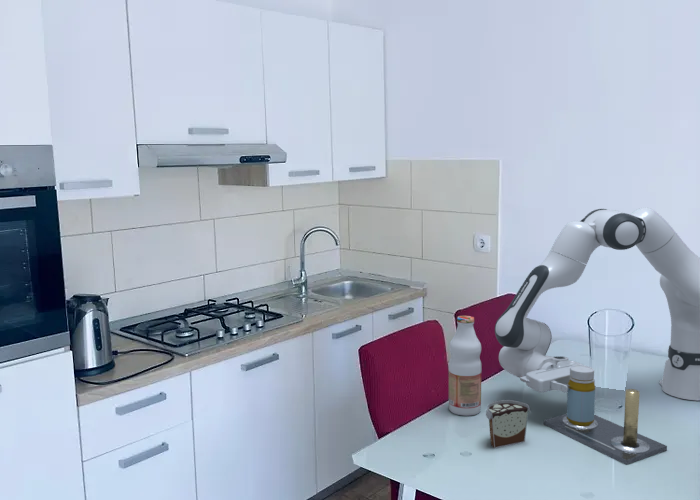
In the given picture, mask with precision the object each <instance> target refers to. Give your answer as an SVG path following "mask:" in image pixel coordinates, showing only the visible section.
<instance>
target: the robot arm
mask: <svg viewBox="0 0 700 500" xmlns="http://www.w3.org/2000/svg"><path fill="white" fill-rule="evenodd" d="M600 246H601V247H606V248H610V249H612V250H618V251H625V250H629V249H632V248H633V247H635V246H636V247H637V249H638V250H639V252H640V253H641V254H642V255H643V256H644V257H645V258H646V260H647V261H648V263H650V265H651V266H652V267H653V269H654V270H655V271H656V272H658V273H659V274H660V277H659V285H660V288H661V289H662V291H663V293H664V296H665V297H666V303H667V306H668V309H669V310H668V311H669V316H670V324H671V327H670V343H669V346H668V350H667V353H668V354H667V357H668V358H667V360H665V362H664V363H665V364H664V368H663V376H662V379H660V380H659V385H660V386H661V391H663V392H664V393H666V394H667V395H669V396H672V397H675V398H678V399H682V400H683V399H684V400H689V401H698V402H699V401H700V257H699V256H698V255H697V254H695V253H694V252H693V251H692V250H691V248H689V246H687V244H686V243H685V242H684V240H683V239H682V238H681V236H679V234H678V233H677V232H676V231H675V229H674V228H673V227H672V225H670V223H669V222H668V221H667V220H666V219H665V218H664V217H663V216H662V215H660V213H658V212H657V211H656V210H655V209H652V208H649V207H641V208H638V209H636V210H634V211H633V212H632V213H630V214H629V213H625V212H623V211H619V210H616V209H615V210H614V209H607V208H598V209H594V210H592V211H590V212H589V213H587V214H586V215H585V216H584V217H583V218H582V219H581V220H573V221H569V222H567V223H566V224H565V225H564V227H563V228H562V229H561V231H560V233H559V234H558V236H557V237H556V239H555V241H554V242H553V244H552V247H551V248H550V251H549V253H548V255H546V257H545V258H544V260H543V261H542V262H541V263H539V265H537V266H535V267H533V268H532V270H531V271H530V272H529V274H528V275H527V277H525V280H524V281H523V282H522V285H521V286H520V288H519V289H518V291H517V292H516V294H515V296H514V297H513V299H512V301H511V302H510V303H509V305H508V306H507V308H506V310H504V311H503V313H502V314H501V315H500V316H499V317H498V318H497V320H496V322H495V325H494V334H495V337H496V340H497V342H498V343H499V344H500V345H501V346H502V348H500V351H499V353H498V361H499V362H498V363H499V365H500V366H501V368H503V369H504V371H506V372H507V373H510V374H511V375H513V376H515V377H516V378H518V379H519V380H520V381H521V382H523V383H525V385H526V386H527V387H528V388H529V389H531V390H533V391H535V392H538V393H547V392H550V391H558V392H559V391H560V392H564V393H568V392H569V391H570V385H568V382H569V380H570V367H571V366H575V365H583V366H586V365H585V364H583V363H580V362H577V361H576V360H575V361H574V360H569V357H567V356H551V355H547V353H548V350H549V349H550V345H551V342H552V340H553V339H552V338H553V336H552V332H551V329H550V326H549V325H548V324H546V323H545V322H541V321H539V320H536V319H531V318H528V315H529V314H530V312H531V310H532V309H533V307H534V305H535V303H536V302H537V301H538V299H539V297H540V296H541V295H543V293H545V292H546V291H548V290H551V289H554V288H555V289H556V288H563V287H568V286H571V285H573V284H575V283H577V281H578V280H579V279H580V278H581V277H582V275H583V273H584V271H585V269H586V266H587V265H588V263H589V260H590V257H591V255H592V254H593V252H594V251H595V250H596V249H597V248H599V247H600ZM594 384H596V380H595V379H594Z"/></svg>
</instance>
